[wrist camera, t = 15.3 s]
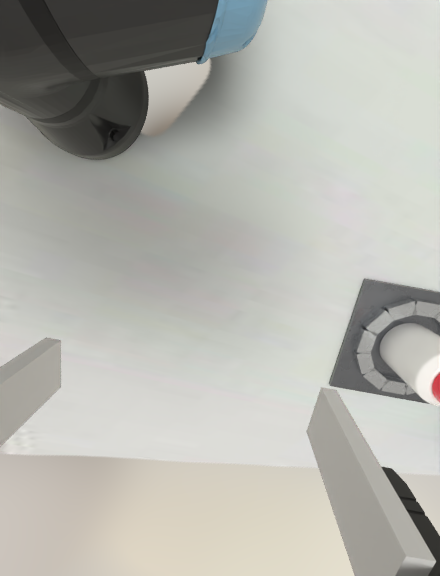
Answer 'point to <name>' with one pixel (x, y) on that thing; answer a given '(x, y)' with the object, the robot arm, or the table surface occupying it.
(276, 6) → the table surface
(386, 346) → the pill bottle
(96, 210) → the table surface
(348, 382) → the ring seat
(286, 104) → the table surface
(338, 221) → the table surface
